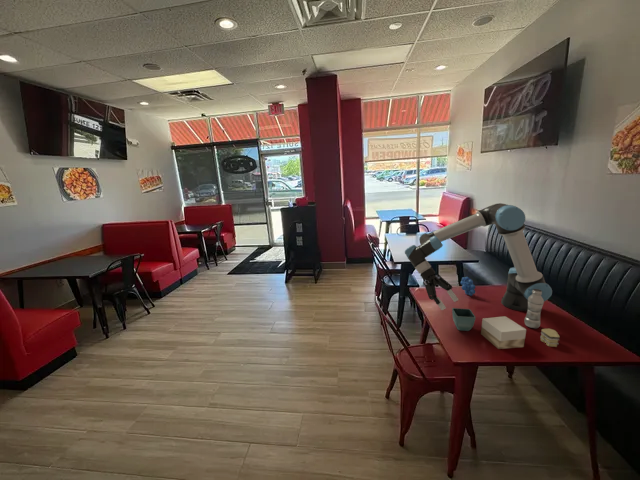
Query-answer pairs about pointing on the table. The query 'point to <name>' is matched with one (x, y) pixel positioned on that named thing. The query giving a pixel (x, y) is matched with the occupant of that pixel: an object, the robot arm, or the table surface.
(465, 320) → the flower pot
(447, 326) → the table surface
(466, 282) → the grapes
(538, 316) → the plastic bottle
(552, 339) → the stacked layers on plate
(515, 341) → the bottom slab
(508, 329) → the top slab
